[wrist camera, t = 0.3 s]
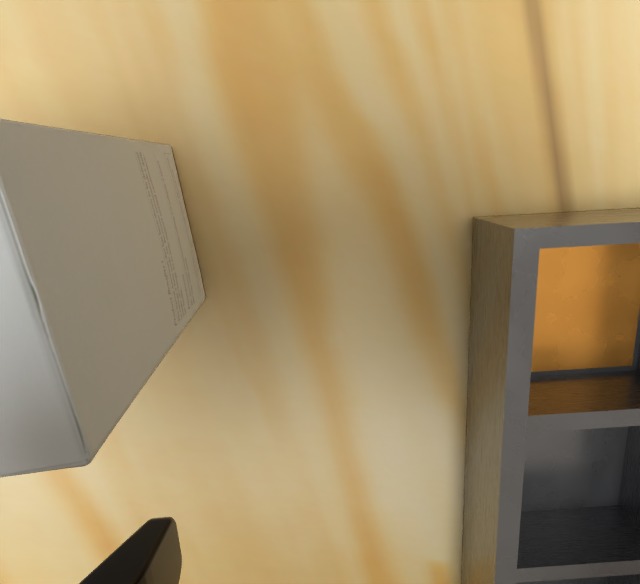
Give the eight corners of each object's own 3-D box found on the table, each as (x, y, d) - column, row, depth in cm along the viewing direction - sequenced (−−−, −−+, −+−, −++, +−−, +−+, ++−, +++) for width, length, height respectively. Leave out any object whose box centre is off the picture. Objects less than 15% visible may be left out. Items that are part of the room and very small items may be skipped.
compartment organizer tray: (614, 616, 28) (668, 694, 24) (459, 627, 28) (487, 708, 24) (672, 206, 22) (759, 215, 17) (473, 217, 21) (514, 228, 17)
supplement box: (6, 168, 20) (-448, 167, 8) (175, 142, 20) (-20, 103, 8) (55, 327, 22) (-249, 523, 10) (210, 304, 22) (95, 472, 10)
